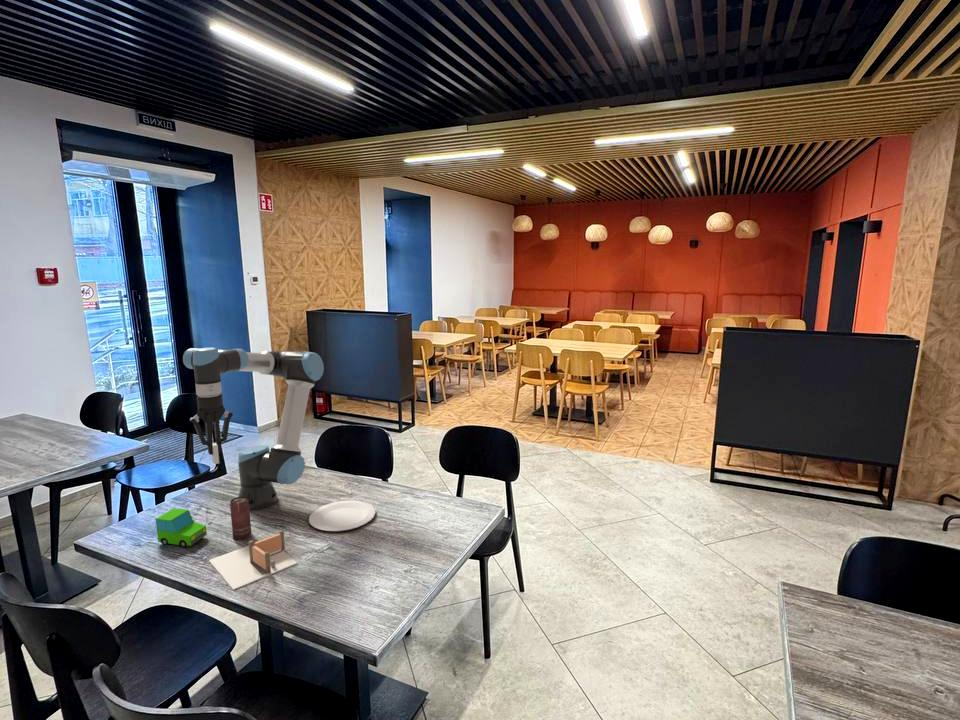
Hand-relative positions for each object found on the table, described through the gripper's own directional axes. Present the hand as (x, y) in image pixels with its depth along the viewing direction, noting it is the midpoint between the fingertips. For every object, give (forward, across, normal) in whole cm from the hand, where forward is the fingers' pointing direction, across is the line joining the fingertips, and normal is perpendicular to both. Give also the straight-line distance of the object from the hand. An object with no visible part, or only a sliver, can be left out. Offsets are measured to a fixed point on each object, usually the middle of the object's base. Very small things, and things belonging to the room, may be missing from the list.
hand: (215, 462), depth 173 cm
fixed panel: (+30, +10, -17) cm, 36 cm away
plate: (+31, +41, -8) cm, 52 cm away
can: (+31, +7, +3) cm, 31 cm away
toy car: (+31, -10, +12) cm, 35 cm away
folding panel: (+30, +6, -24) cm, 38 cm away
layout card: (+30, +5, -18) cm, 35 cm away
